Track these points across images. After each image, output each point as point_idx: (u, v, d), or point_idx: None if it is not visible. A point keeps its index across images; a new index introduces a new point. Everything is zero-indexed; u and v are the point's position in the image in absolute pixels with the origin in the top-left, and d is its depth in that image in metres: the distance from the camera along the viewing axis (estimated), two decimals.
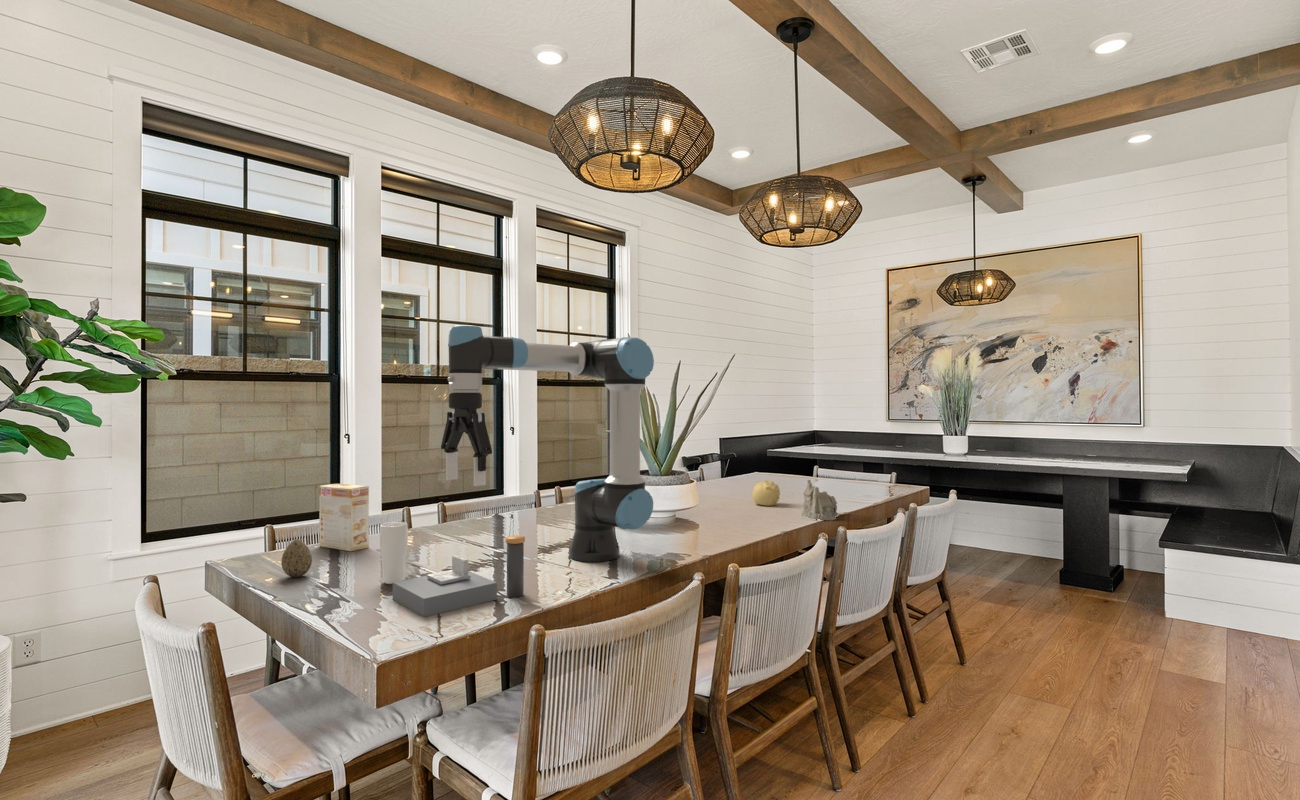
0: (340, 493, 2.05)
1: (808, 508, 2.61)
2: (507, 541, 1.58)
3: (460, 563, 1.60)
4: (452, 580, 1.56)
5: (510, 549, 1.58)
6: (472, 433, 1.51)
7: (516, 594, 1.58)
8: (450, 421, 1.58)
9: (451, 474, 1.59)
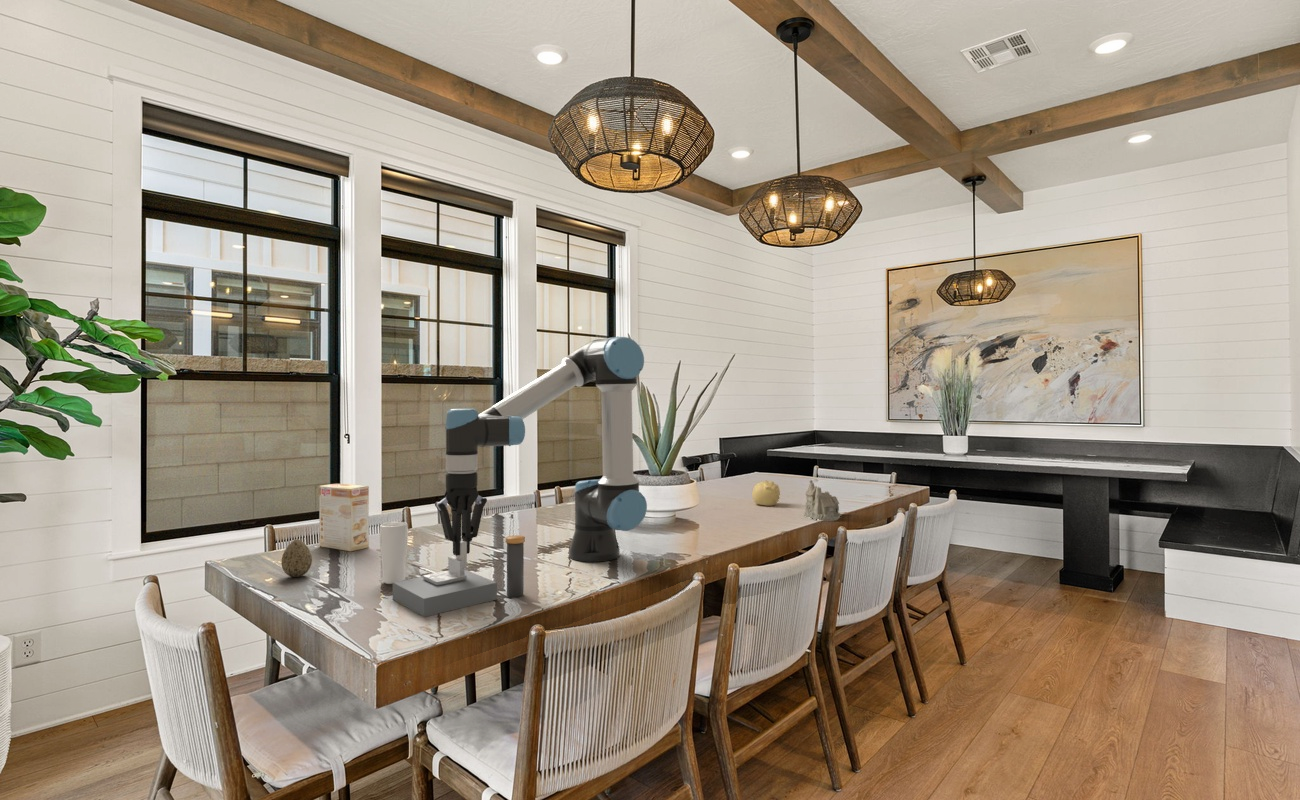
0: (340, 493, 2.05)
1: (810, 508, 2.61)
2: (507, 541, 1.58)
3: (457, 563, 1.59)
4: (448, 581, 1.55)
5: (510, 549, 1.58)
6: (452, 517, 1.61)
7: (516, 594, 1.58)
8: (475, 504, 1.65)
9: None
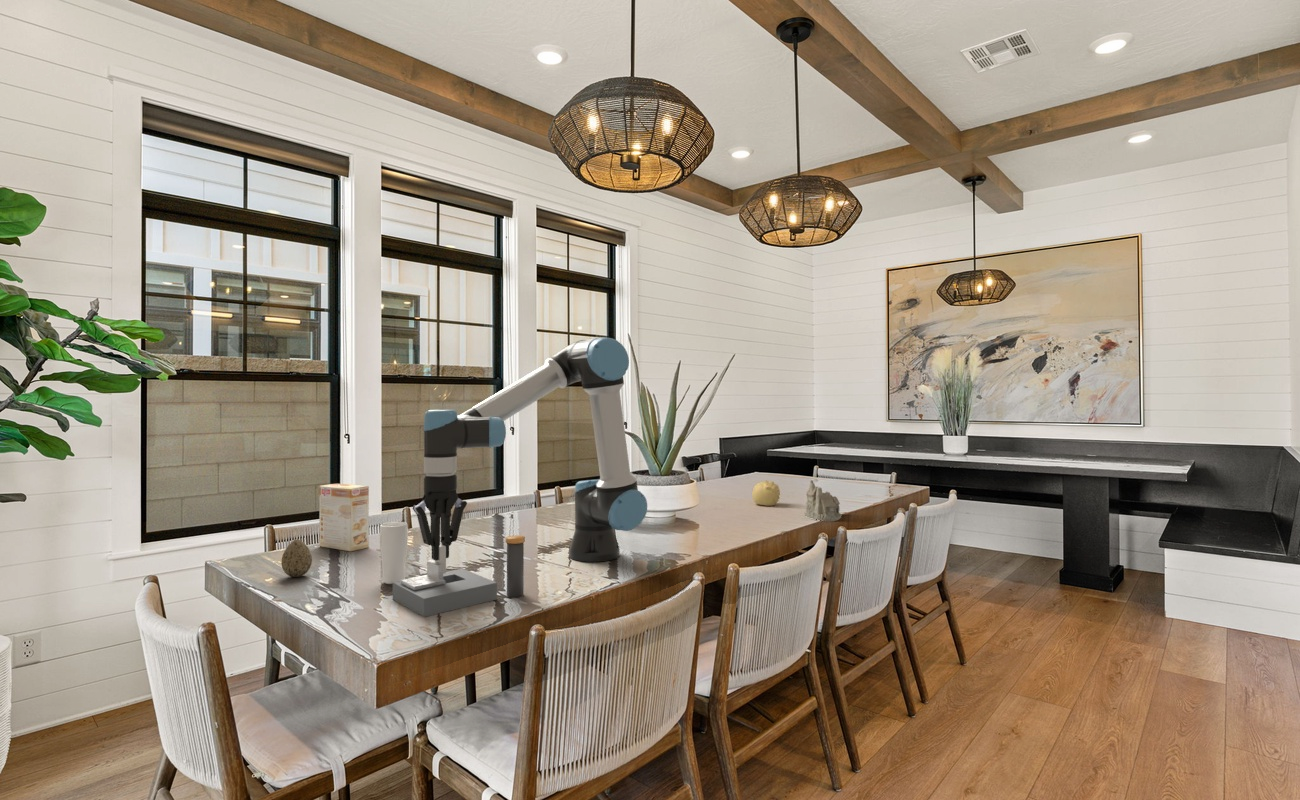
0: (340, 493, 2.05)
1: (811, 508, 2.60)
2: (507, 541, 1.58)
3: (435, 567, 1.55)
4: (426, 585, 1.52)
5: (510, 549, 1.58)
6: (431, 520, 1.57)
7: (516, 594, 1.58)
8: (455, 507, 1.61)
9: None
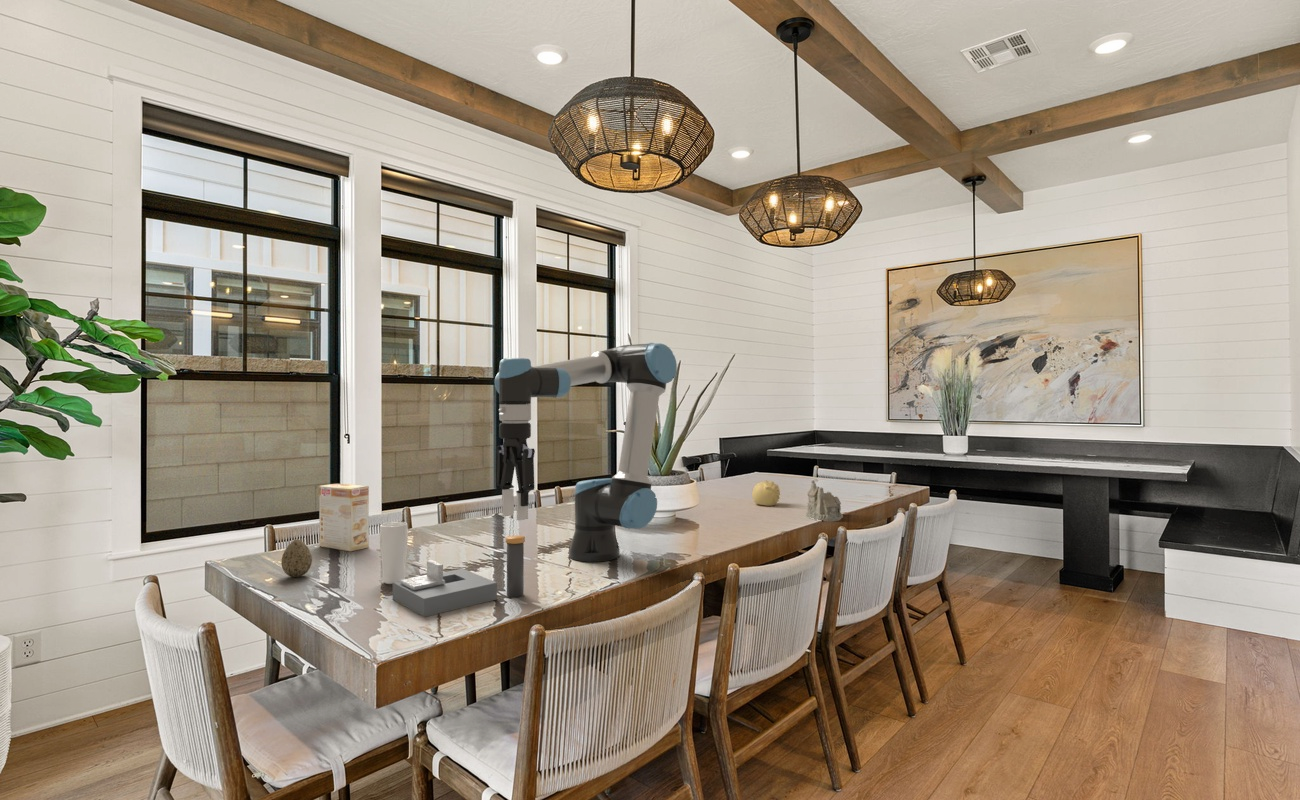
0: (340, 493, 2.05)
1: (812, 509, 2.60)
2: (507, 541, 1.58)
3: (435, 567, 1.55)
4: (426, 585, 1.51)
5: (510, 549, 1.58)
6: (519, 467, 1.57)
7: (516, 594, 1.58)
8: (501, 454, 1.63)
9: (507, 510, 1.62)
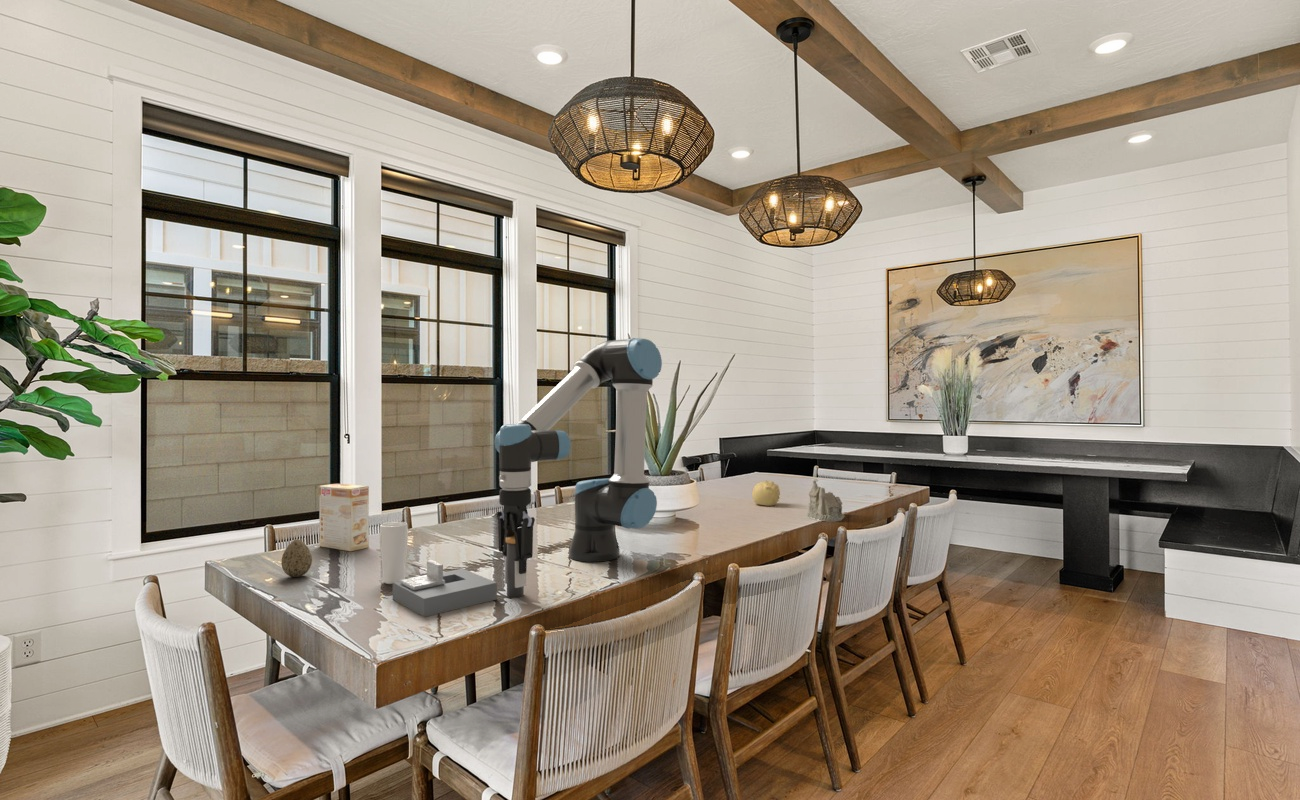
0: (340, 493, 2.05)
1: (814, 509, 2.59)
2: (507, 541, 1.58)
3: (435, 567, 1.55)
4: (426, 585, 1.51)
5: (510, 549, 1.58)
6: (518, 534, 1.57)
7: (516, 594, 1.58)
8: (501, 519, 1.63)
9: None
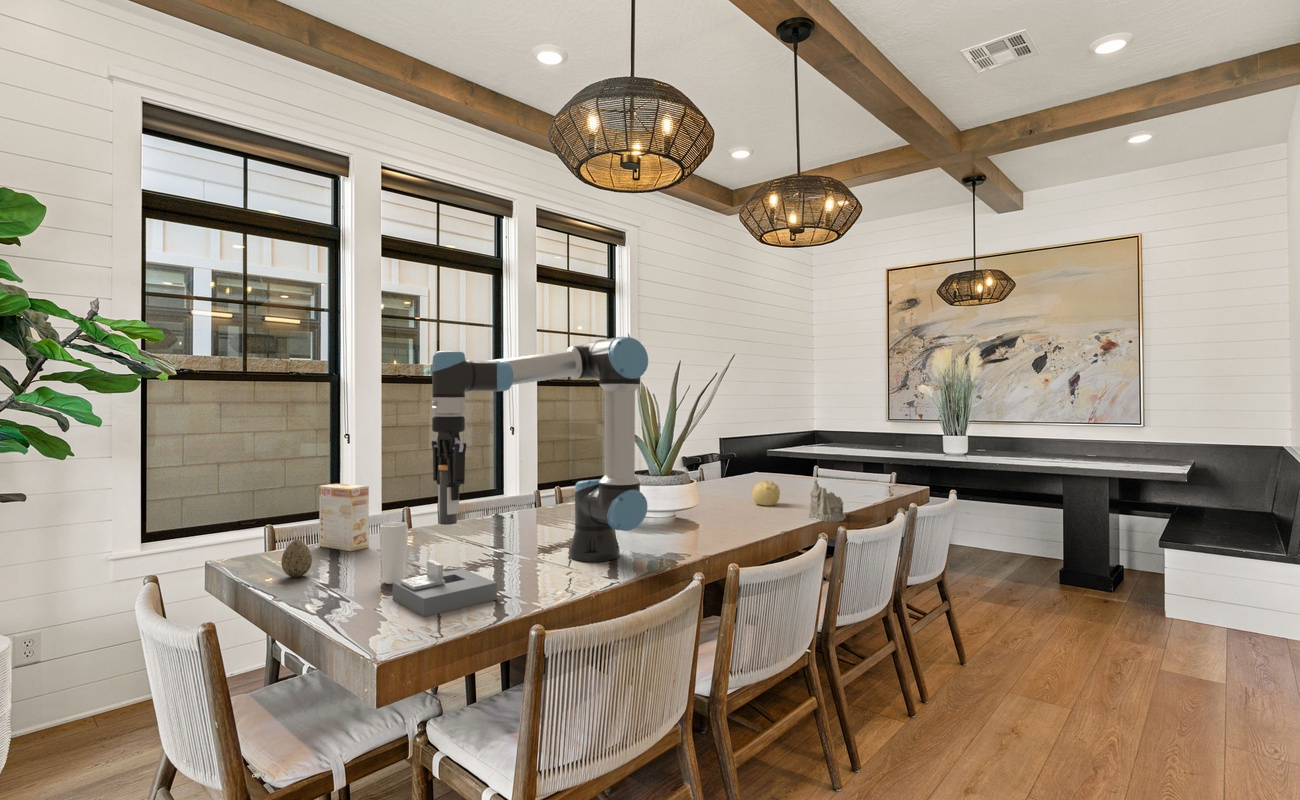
0: (340, 493, 2.05)
1: (815, 509, 2.59)
2: (439, 468, 1.57)
3: (435, 567, 1.55)
4: (426, 585, 1.51)
5: (442, 476, 1.57)
6: (451, 461, 1.57)
7: (448, 521, 1.57)
8: (436, 448, 1.62)
9: None
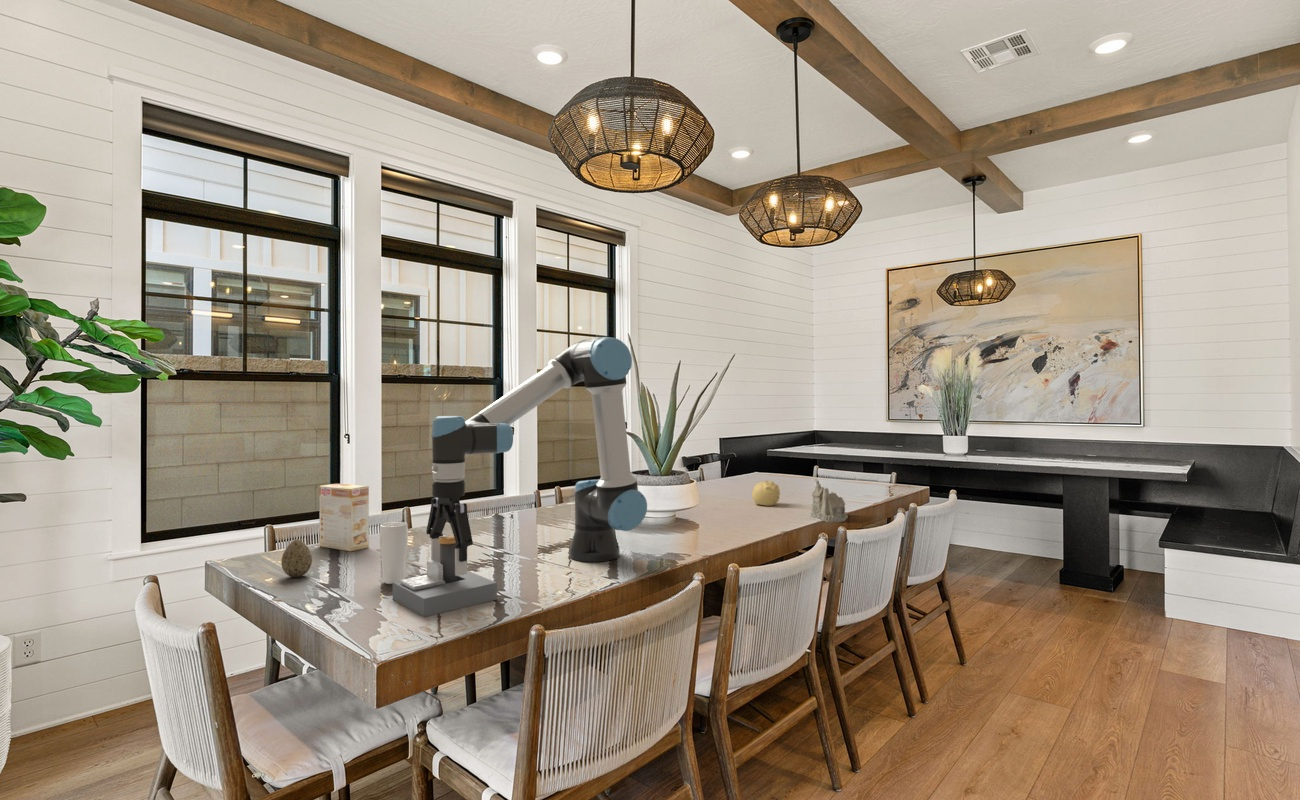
0: (340, 493, 2.05)
1: (817, 509, 2.58)
2: (440, 541, 1.57)
3: (435, 567, 1.55)
4: (426, 585, 1.51)
5: (443, 550, 1.57)
6: (454, 523, 1.55)
7: None
8: (434, 507, 1.63)
9: (436, 559, 1.63)
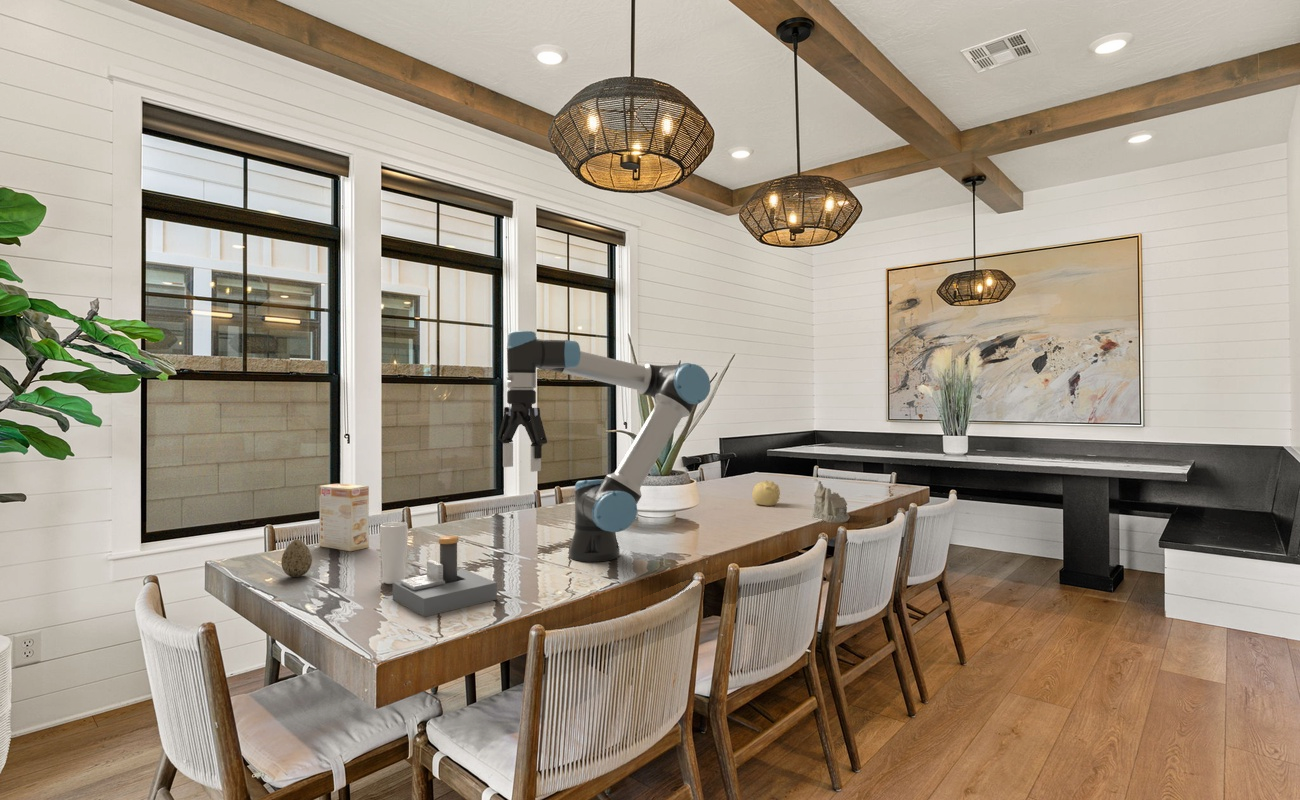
0: (340, 493, 2.05)
1: (819, 510, 2.58)
2: (440, 541, 1.57)
3: (435, 567, 1.55)
4: (426, 585, 1.51)
5: (443, 550, 1.57)
6: (529, 425, 1.72)
7: None
8: (507, 415, 1.79)
9: (507, 462, 1.80)
